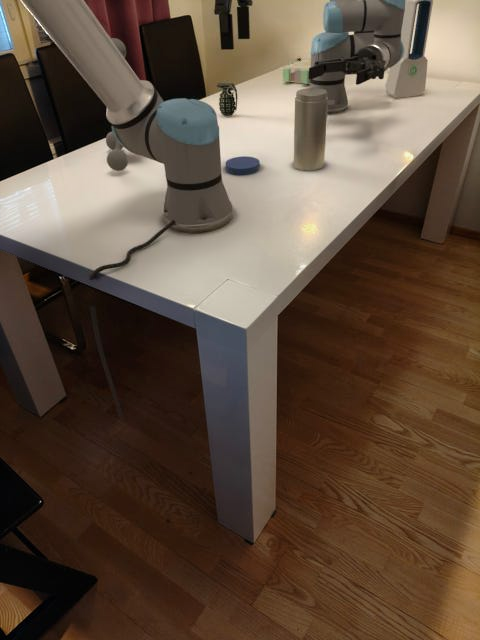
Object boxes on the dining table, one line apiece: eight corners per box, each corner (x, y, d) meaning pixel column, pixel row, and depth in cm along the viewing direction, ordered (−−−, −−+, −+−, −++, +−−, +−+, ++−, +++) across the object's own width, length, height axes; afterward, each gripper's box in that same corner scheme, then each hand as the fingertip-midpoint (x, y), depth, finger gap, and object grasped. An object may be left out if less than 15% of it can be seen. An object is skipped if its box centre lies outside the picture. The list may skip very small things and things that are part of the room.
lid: (241, 159, 135) (241, 154, 134) (266, 167, 129) (266, 160, 128) (218, 169, 129) (218, 163, 128) (243, 177, 124) (243, 171, 123)
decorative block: (305, 54, 216) (346, 57, 206) (304, 70, 220) (345, 74, 210) (274, 66, 200) (317, 69, 190) (274, 83, 204) (316, 87, 194)
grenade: (217, 117, 168) (214, 86, 162) (221, 112, 172) (219, 82, 166) (235, 117, 166) (233, 86, 160) (239, 113, 171) (238, 82, 165)
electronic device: (393, 98, 176) (407, -1, 157) (383, 94, 181) (395, -2, 163) (424, 94, 178) (441, -4, 160) (413, 90, 184) (428, -5, 165)
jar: (330, 165, 128) (335, 91, 117) (307, 173, 125) (310, 97, 114) (309, 157, 134) (312, 86, 122) (287, 164, 130) (288, 91, 119)
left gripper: (230, -78, 88) (236, 54, 101) (263, -77, 107) (264, 34, 120) (191, -75, 90) (202, 54, 103) (230, -74, 109) (235, 35, 122)
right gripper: (411, 79, 132) (377, 97, 119) (330, 71, 145) (291, 87, 132) (416, 48, 128) (381, 63, 115) (331, 42, 140) (291, 56, 127)
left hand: (236, 44), depth 111 cm, fingers open, 13 cm apart
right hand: (333, 76), depth 123 cm, fingers open, 13 cm apart
